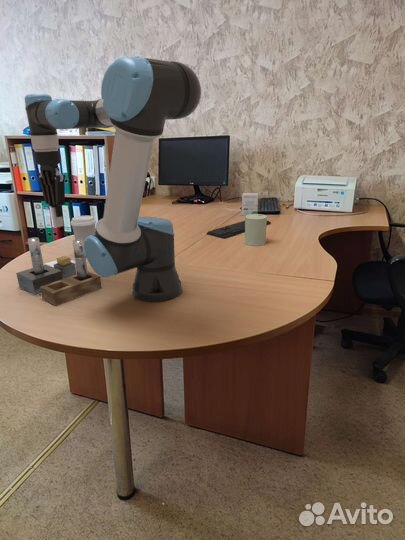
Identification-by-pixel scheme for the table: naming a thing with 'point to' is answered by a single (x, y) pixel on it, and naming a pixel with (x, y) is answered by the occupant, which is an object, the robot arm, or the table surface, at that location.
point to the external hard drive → (55, 263)
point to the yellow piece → (63, 261)
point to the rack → (69, 288)
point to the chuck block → (44, 277)
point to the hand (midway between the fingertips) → (58, 226)
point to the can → (255, 229)
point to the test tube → (80, 259)
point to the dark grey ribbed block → (230, 230)
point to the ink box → (249, 203)
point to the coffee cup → (83, 227)
